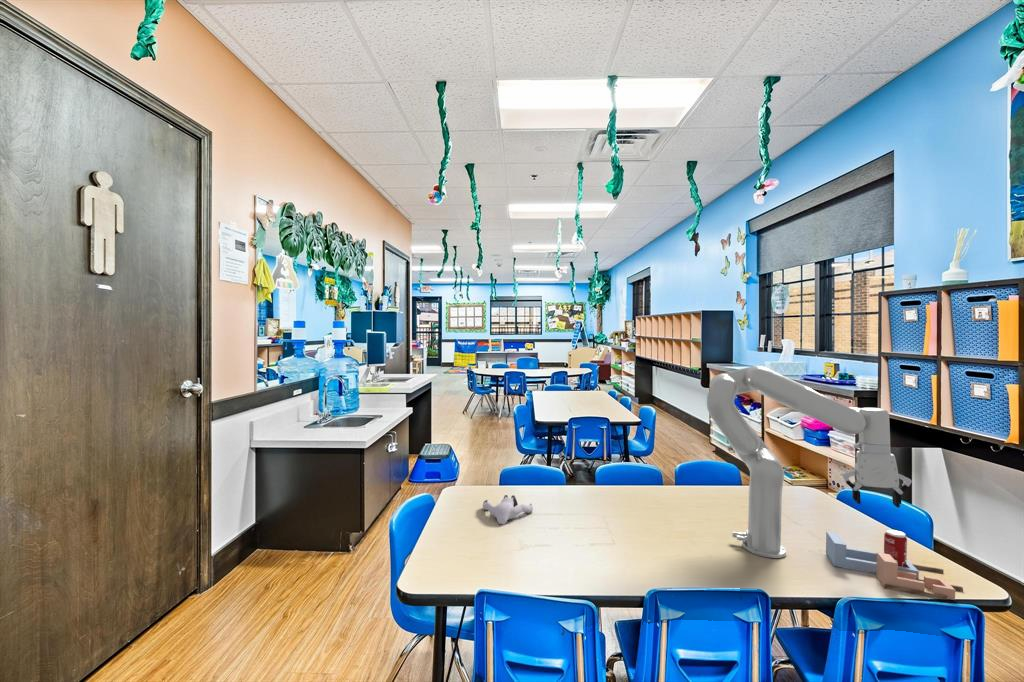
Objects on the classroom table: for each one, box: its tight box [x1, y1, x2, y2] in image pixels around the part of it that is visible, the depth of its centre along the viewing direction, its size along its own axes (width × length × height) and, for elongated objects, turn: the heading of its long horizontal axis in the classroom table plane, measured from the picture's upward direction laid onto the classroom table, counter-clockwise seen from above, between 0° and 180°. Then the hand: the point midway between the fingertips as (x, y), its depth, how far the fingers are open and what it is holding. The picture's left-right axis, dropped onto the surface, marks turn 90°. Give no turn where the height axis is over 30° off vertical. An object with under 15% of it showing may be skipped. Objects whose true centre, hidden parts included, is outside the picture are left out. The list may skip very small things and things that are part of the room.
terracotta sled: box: [875, 552, 926, 591], centre depth 128 cm, size 9×6×7 cm, turn 68°
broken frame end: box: [923, 575, 956, 601], centre depth 125 cm, size 4×6×3 cm
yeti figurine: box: [482, 494, 534, 525], centre depth 172 cm, size 20×7×20 cm
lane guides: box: [883, 563, 964, 601], centre depth 131 cm, size 20×19×1 cm
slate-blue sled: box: [825, 530, 920, 579], centre depth 138 cm, size 20×9×7 cm, turn 68°
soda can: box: [883, 528, 908, 567], centre depth 136 cm, size 5×5×12 cm
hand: (876, 504), depth 138 cm, fingers open, 9 cm apart
